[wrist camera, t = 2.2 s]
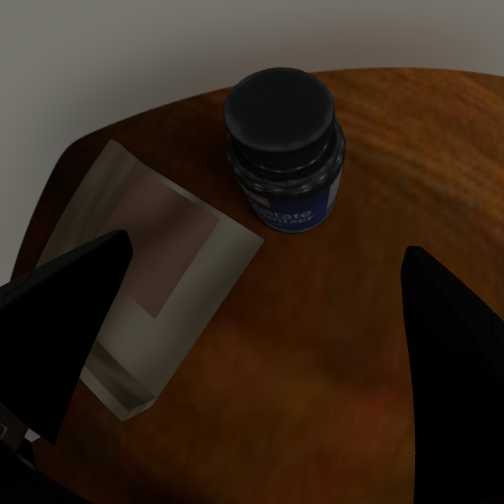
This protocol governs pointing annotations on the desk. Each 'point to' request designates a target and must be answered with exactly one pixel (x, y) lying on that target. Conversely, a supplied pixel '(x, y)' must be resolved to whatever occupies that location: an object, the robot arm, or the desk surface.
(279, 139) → the pill bottle
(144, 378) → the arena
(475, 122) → the desk surface
